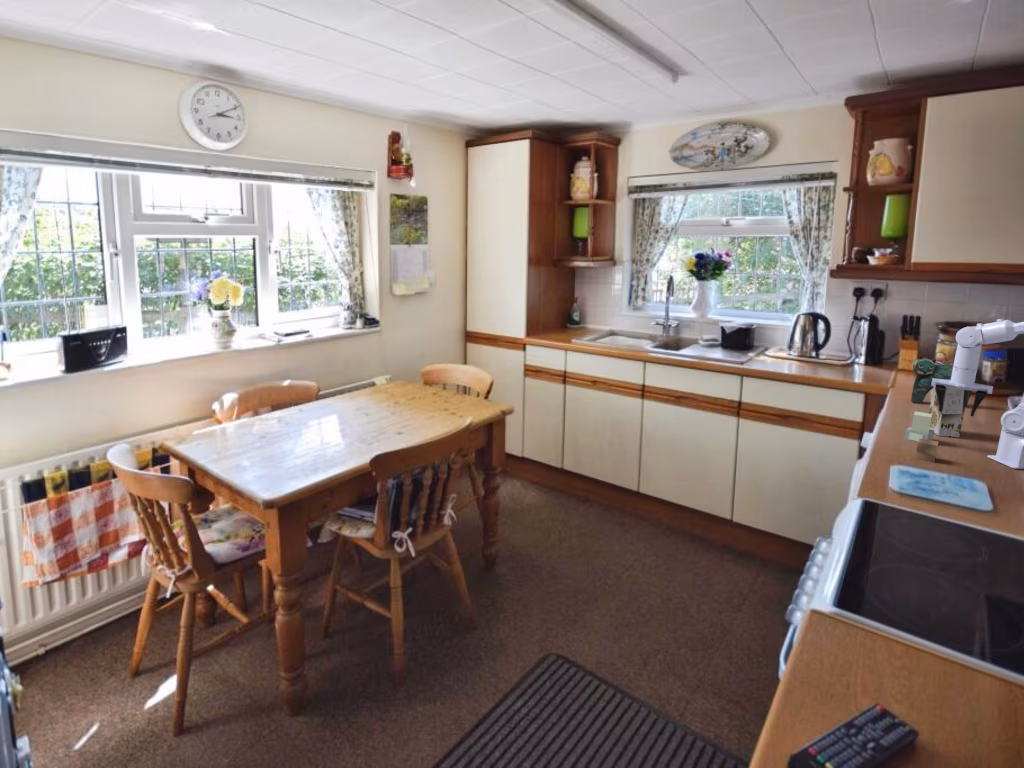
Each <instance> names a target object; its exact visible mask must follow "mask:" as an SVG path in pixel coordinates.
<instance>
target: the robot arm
mask: <svg viewBox="0 0 1024 768" xmlns="http://www.w3.org/2000/svg"><path fill="white" fill-rule="evenodd" d="M1021 334H1024V321H1021V322H1013V321H1012V320H1010V319H1004V318H999V319H996V321H994V322H988V323H984V324H983V322H980V323H977V324H976V325H975V326H974V325H973V326H966V327H963V328H961V329H959V330H958V331H957V332H956V335H955V342H956V343H957V347H956V351H955V354H954V355H955V356H954V361H953V362H954V363H953V370H952V376H951V380H946V379H935V378H933V379H932V384H931V386H936V387H935V391H936V393H937V397H938V401H939V411H942V409H943V400H944V395H945V390H946V387H949V388H956V389H963V390H971V391H972V392H975V396H974V401H973V405H972V408H971V412H970V416H971V417H974V416H975V413H976V411H977V410H978V407H979V406H980V404H981V403H982V402H983V401H984V400H985V398H986V397H987V394H990V395H991V394H992V393H993V388H994V386H993V385H988V384H983V383H978V382H977V383H976V382H975V381H976V376H977V372H978V367H979V361H980V358H981V357H980V356H981V351H982V346H983V345H991V344H996V343H1003V342H1004V343H1005V342H1009V341H1010V342H1011V341H1013V340H1014V339H1015V338H1016V337H1017V336H1018V335H1021ZM956 386H957V387H956ZM1000 424H1001V426H1002V427H1001V432H1000V435H999V441H998V445H997V450H996V454H995V455H993V454H991V455H990V454H989V455H987V458H989V459H992V460H994V461H995V462H997V463H1000V464H1002V465H1004V466H1007V467H1009V468H1011V469H1015V470H1016V469H1018V470H1019V469H1021V470H1022V469H1023V470H1024V401H1022V402H1021V403H1019V404H1018V405H1017V406H1016V407H1015V408H1013V409H1011V410H1010V409H1009V410H1007V411H1005V412H1004V413H1003V414H1002V415H1001V417H1000Z"/></svg>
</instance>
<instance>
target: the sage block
mask: <svg viewBox="0 0 1024 768" xmlns="http://www.w3.org/2000/svg"><path fill="white" fill-rule="evenodd" d="M931 418H932V414H929V412H928V413H927V412H920V411H914V413H913V417H912V423H911V426H912V428H911V430H912V431H918V432H924V433H929V429H930V424H931Z"/></svg>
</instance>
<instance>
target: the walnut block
mask: <svg viewBox="0 0 1024 768" xmlns="http://www.w3.org/2000/svg"><path fill="white" fill-rule="evenodd" d="M938 447H939V441H936V440H926V439H921V438H920V439H919V441H918V442H917V447H916V453H915V460H918V459H919V460H918V461H923V460H924V462H928V461H929V462H928V463H935V461H936V457H937V453H938Z"/></svg>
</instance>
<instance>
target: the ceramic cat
mask: <svg viewBox="0 0 1024 768" xmlns="http://www.w3.org/2000/svg"><path fill="white" fill-rule="evenodd" d="M939 353H940V354H943V355H944V356H945V357H946V356H947V354H946V353H945V352H943V351H936V352H935V353H934V355H933V359H928V358H926V357H923V356H922V355H921V356H919V357H918V358H917V359H916V360H914V362H913V365H912V369H913V372H914V373H915V374H916V377H915V379H914V382H913V387H912V391H911V397H910V401H911V403H913V404H917V403H918V404H920V405H922V404H923V401H924V400H925V398H926V395H928V393H929V392H930V391H931V390H933V387H934V386H931V384H932V379H933V378H935V379H946V380H951V376H952V370H953V365H954V361H949V362H944V363H939V362H937V359H935V356H936V355H937V354H939ZM952 363H953V364H952ZM972 393H973V391H971V390H969V391H968V396H967V401H966V406H965V408H967V406H968V404H969V403H968V402H969V400H970V398H971V397H972V396H971V395H972Z"/></svg>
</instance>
